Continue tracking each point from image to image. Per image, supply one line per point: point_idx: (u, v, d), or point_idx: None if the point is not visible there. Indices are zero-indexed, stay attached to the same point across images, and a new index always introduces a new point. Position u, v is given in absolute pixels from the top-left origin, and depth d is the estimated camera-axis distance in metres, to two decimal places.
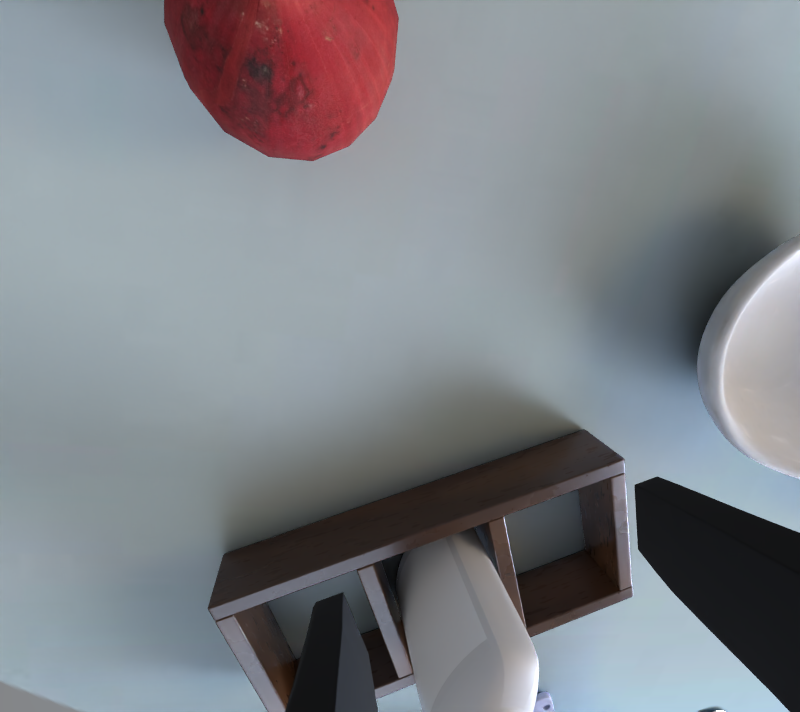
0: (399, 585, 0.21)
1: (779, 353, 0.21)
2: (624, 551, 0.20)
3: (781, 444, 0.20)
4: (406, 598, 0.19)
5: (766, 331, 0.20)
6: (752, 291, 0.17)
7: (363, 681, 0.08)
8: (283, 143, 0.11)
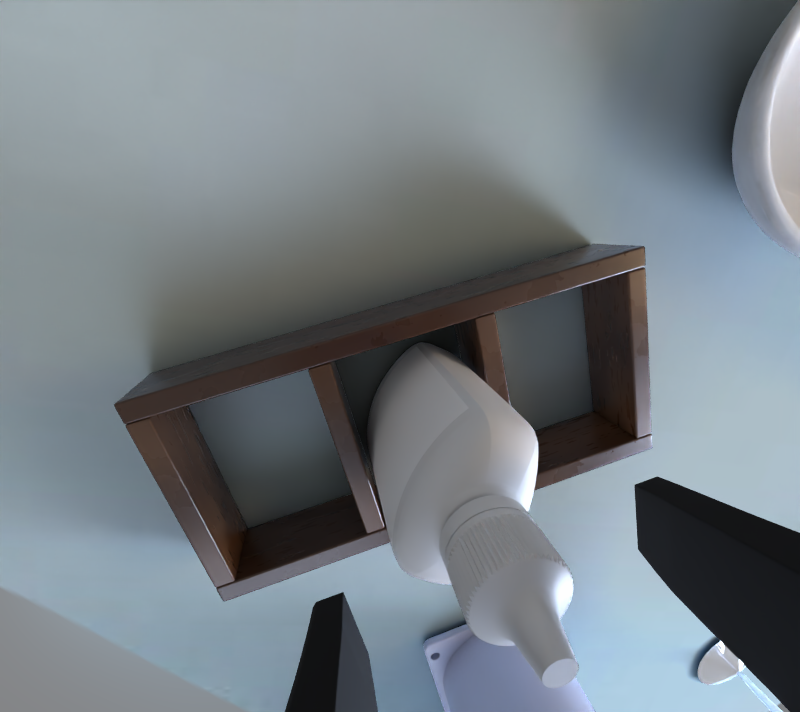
0: (369, 427, 0.17)
1: None
2: (642, 382, 0.17)
3: None
4: (375, 430, 0.16)
5: None
6: None
7: (363, 681, 0.08)
8: None
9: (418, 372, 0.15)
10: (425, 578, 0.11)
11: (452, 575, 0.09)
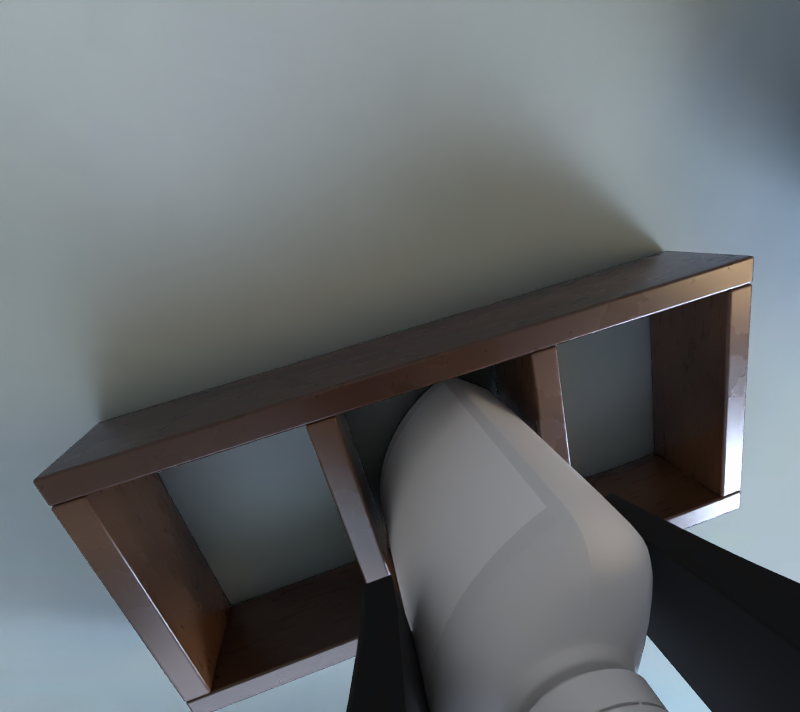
0: (383, 485, 0.13)
1: None
2: (735, 429, 0.13)
3: None
4: (394, 496, 0.12)
5: None
6: None
7: (415, 660, 0.08)
8: None
9: (452, 425, 0.11)
10: None
11: None
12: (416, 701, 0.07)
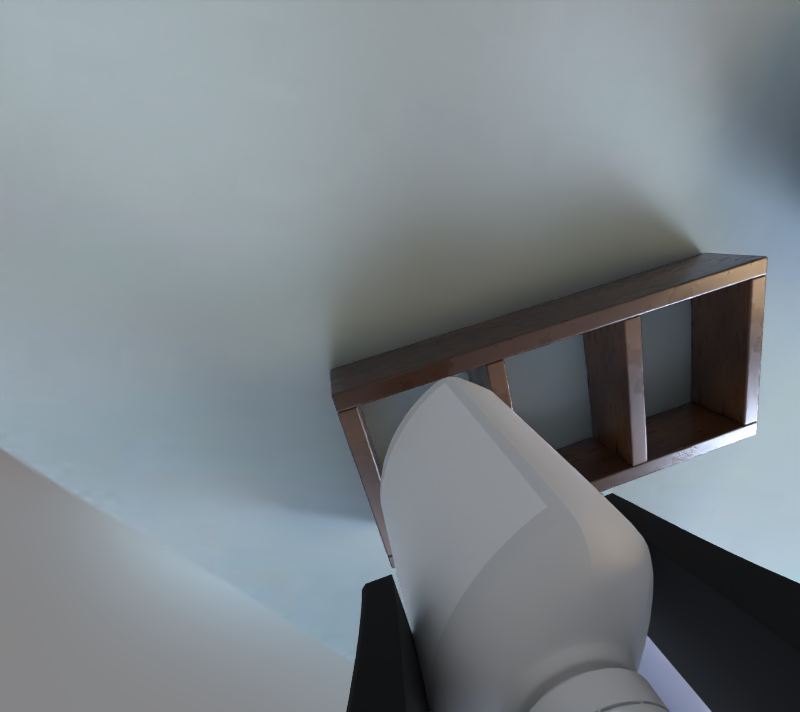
0: (384, 485, 0.13)
1: None
2: (754, 375, 0.19)
3: None
4: (394, 495, 0.12)
5: None
6: None
7: (415, 660, 0.08)
8: None
9: (453, 424, 0.11)
10: None
11: None
12: (416, 701, 0.07)
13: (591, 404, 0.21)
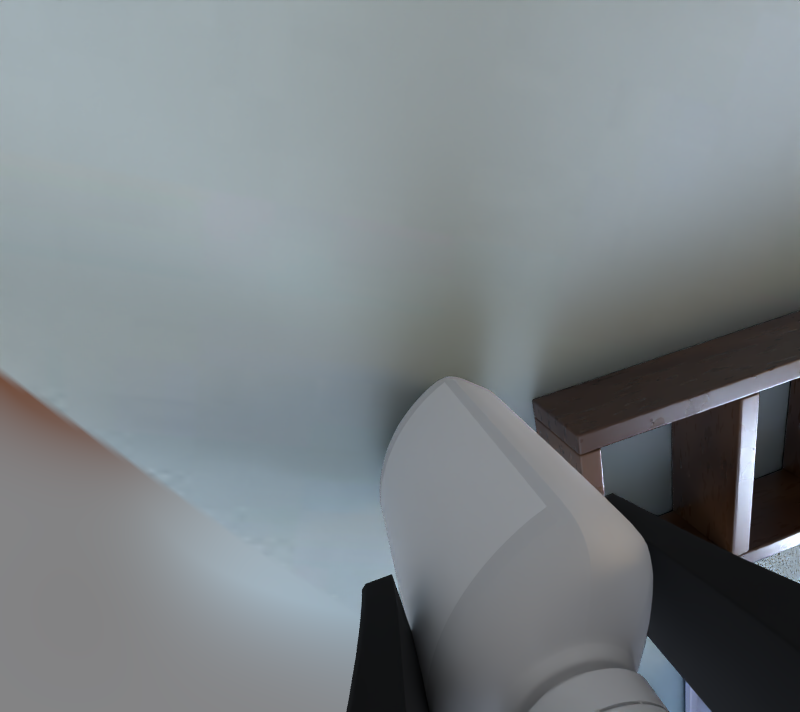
0: (383, 485, 0.13)
1: None
2: None
3: None
4: (393, 495, 0.12)
5: None
6: None
7: (415, 660, 0.08)
8: None
9: (452, 424, 0.11)
10: None
11: None
12: (416, 701, 0.07)
13: (788, 434, 0.19)
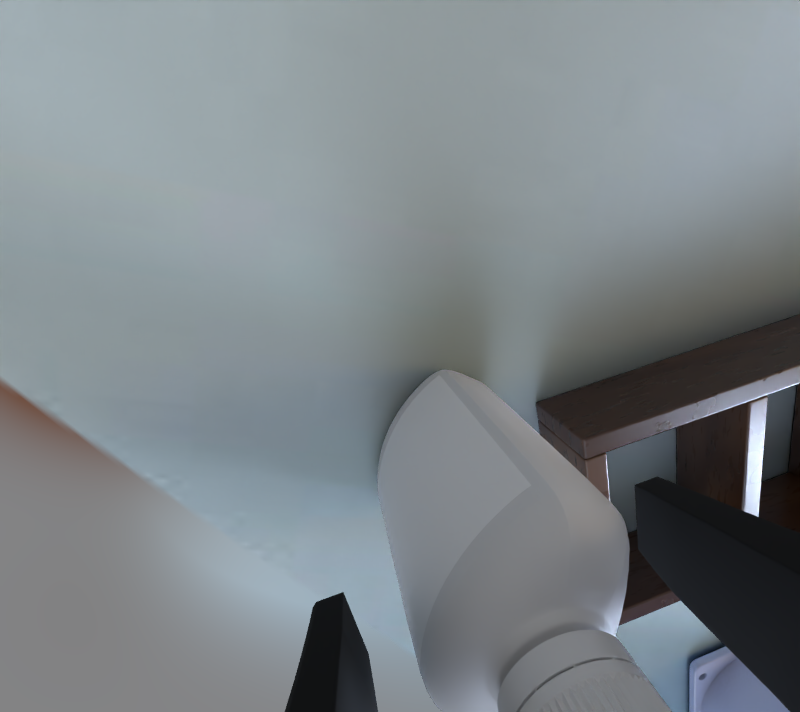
0: (380, 474, 0.14)
1: None
2: None
3: None
4: (390, 482, 0.13)
5: None
6: None
7: (363, 681, 0.08)
8: None
9: (446, 413, 0.11)
10: None
11: None
12: None
13: (795, 437, 0.19)
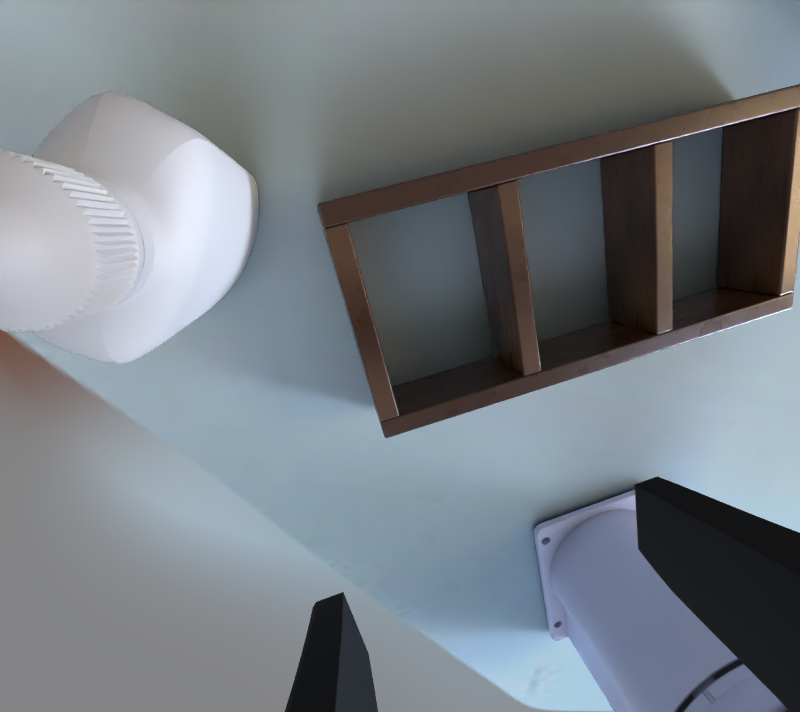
0: None
1: None
2: (794, 232, 0.17)
3: None
4: None
5: None
6: None
7: (363, 681, 0.08)
8: None
9: None
10: (50, 336, 0.08)
11: None
12: None
13: (608, 279, 0.19)
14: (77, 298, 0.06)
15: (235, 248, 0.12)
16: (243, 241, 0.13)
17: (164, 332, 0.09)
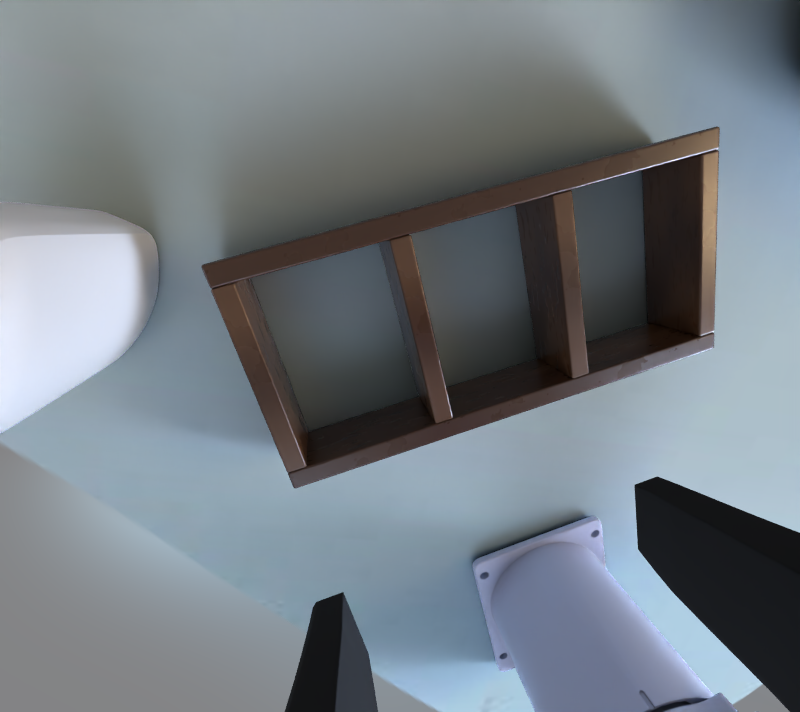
0: None
1: None
2: (709, 275, 0.17)
3: None
4: None
5: None
6: None
7: (363, 681, 0.08)
8: None
9: None
10: None
11: None
12: None
13: (532, 318, 0.19)
14: None
15: (109, 316, 0.12)
16: (127, 304, 0.13)
17: None
